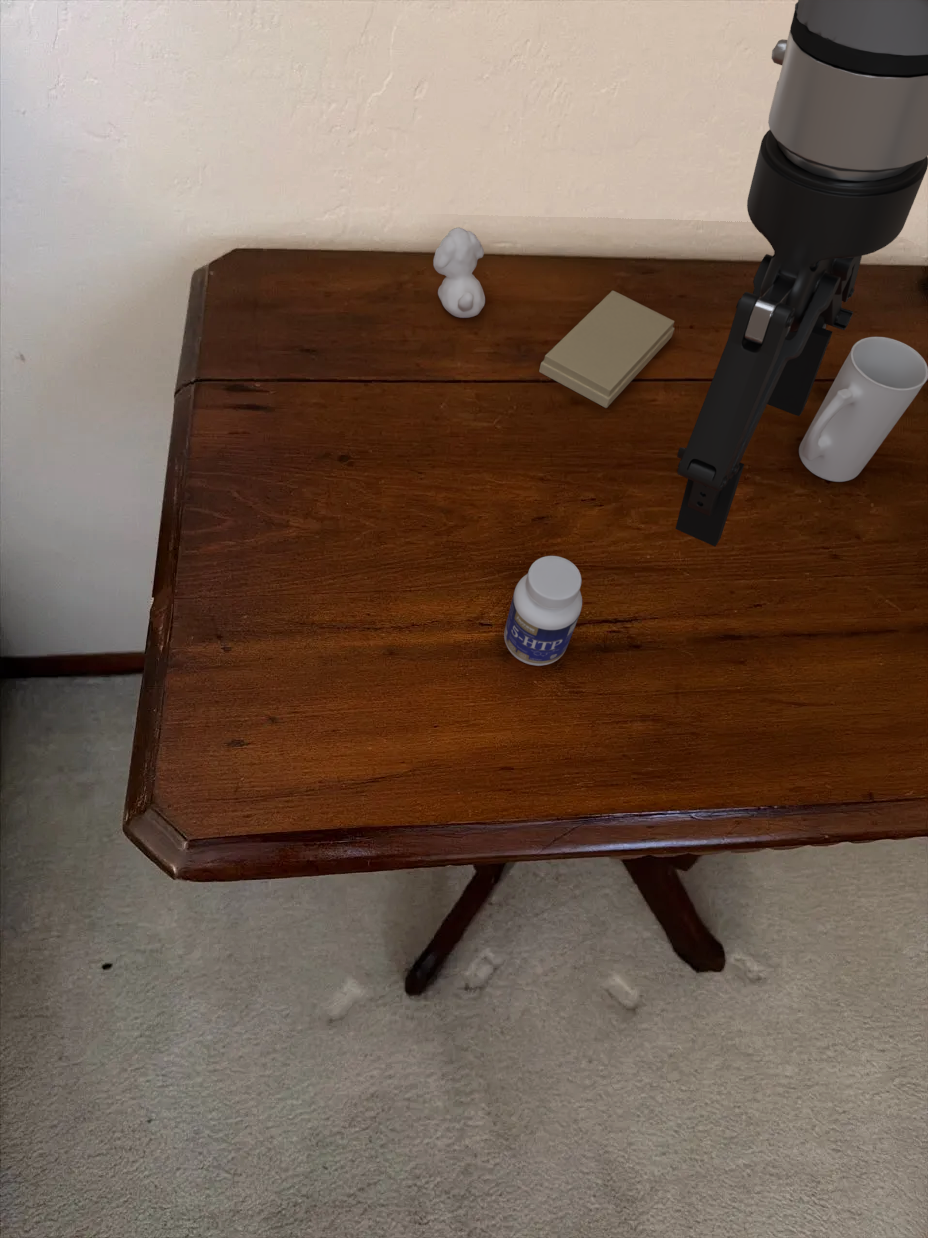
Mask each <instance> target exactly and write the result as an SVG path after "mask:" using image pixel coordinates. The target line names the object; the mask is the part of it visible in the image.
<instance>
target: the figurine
mask: <svg viewBox="0 0 928 1238" xmlns="http://www.w3.org/2000/svg"><path fill="white" fill-rule="evenodd" d="M484 255H485V249H484V247H483V245H482V242H481V241H480V239H479V238H478V237H477V235H476V234H475V233H474V232H473V231H471V230H467V229H465V228H463V227H461V226H458V227H455V228H452V229H450V230H449V231H448V233H447V234H446V236H445V237H444V238H443V239H441V242H440V244H439V246H438V247H437V248H436V249H435V253H434V256H433V260H432V261H433V262H432V264H433V265H432V266H433V268H434V270H435V271H436V272H437V273H438V274H439V275H443V276H445V277H444V279H443V280H442V282H441V284H440V286H439V287H438V289H437V296H438V298H439V300H440V302H441V304H442V306H443V308H444V309H445V311H447V312H448V313H449V314H450V315H452V316H453V317H456V318H460V319H469V318H473V317H475V316H478V315H479V314H480V313H481V311H482V309H483V308H484V307H485V304H486V296H485V292H484V289H483V286H482V285H481V282H480V281H479V279H478V278H476V277H475V274H473V272H474V271H475V269H476V268H477V265H478V260H480V259H482V258H483V257H484Z"/></svg>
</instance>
